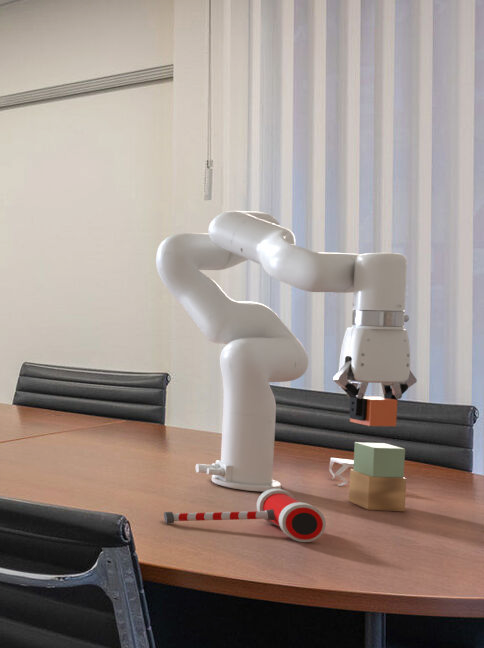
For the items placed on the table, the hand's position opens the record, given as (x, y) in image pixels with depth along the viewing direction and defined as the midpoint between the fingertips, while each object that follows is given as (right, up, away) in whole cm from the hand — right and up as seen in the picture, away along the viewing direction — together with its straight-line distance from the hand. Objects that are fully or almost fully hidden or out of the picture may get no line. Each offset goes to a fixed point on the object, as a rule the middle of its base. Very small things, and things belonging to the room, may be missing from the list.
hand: (372, 418), depth 155 cm
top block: (0, -1, 0) cm, 1 cm away
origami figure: (+17, -18, +27) cm, 36 cm away
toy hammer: (-27, -19, -7) cm, 34 cm away
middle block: (+8, -12, +9) cm, 17 cm away
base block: (+8, -18, +10) cm, 22 cm away
